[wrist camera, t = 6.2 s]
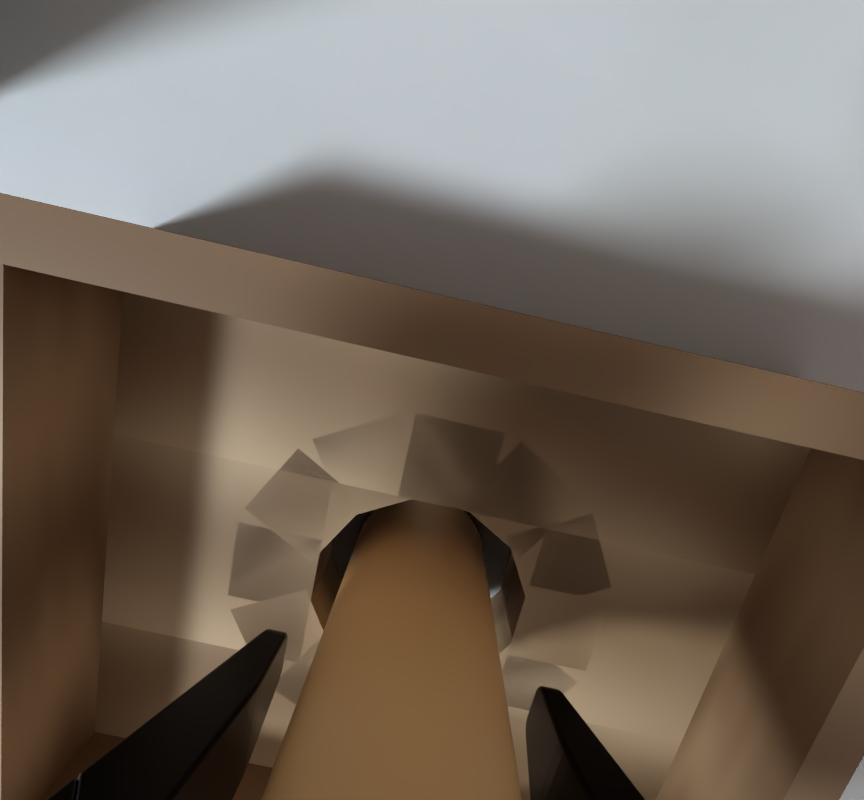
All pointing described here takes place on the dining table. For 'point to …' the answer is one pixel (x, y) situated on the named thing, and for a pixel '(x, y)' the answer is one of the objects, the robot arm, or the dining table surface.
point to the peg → (404, 674)
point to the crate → (400, 481)
